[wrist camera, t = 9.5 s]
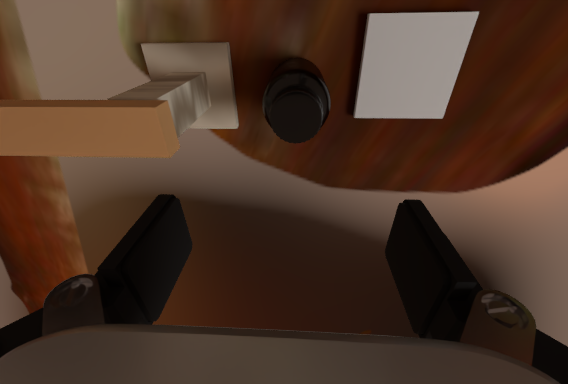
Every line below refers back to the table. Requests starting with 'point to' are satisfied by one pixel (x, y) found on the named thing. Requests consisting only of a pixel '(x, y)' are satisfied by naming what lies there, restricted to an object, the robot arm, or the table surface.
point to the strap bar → (87, 128)
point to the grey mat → (411, 63)
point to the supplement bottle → (296, 100)
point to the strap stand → (190, 84)
